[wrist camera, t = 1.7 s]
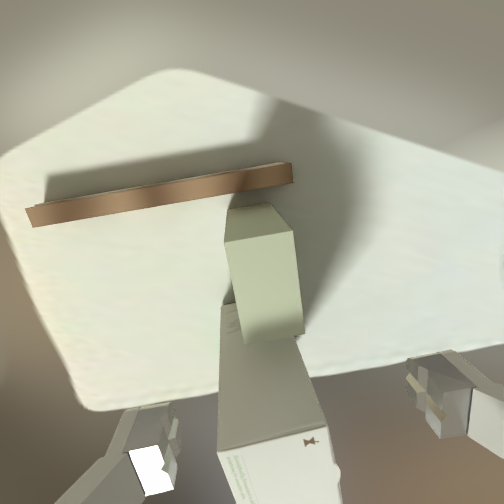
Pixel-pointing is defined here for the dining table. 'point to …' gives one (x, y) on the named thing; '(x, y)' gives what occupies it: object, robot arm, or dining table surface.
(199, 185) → the rail
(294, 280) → the sage tea box
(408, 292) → the dining table surface
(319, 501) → the skincare box
